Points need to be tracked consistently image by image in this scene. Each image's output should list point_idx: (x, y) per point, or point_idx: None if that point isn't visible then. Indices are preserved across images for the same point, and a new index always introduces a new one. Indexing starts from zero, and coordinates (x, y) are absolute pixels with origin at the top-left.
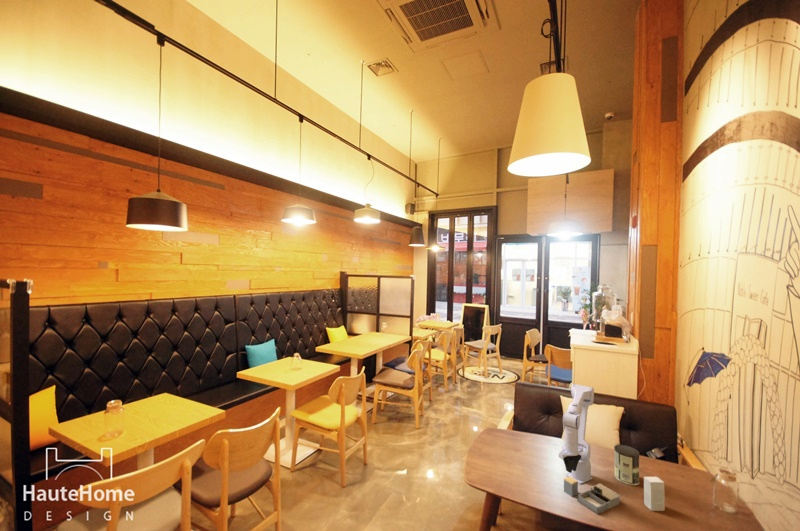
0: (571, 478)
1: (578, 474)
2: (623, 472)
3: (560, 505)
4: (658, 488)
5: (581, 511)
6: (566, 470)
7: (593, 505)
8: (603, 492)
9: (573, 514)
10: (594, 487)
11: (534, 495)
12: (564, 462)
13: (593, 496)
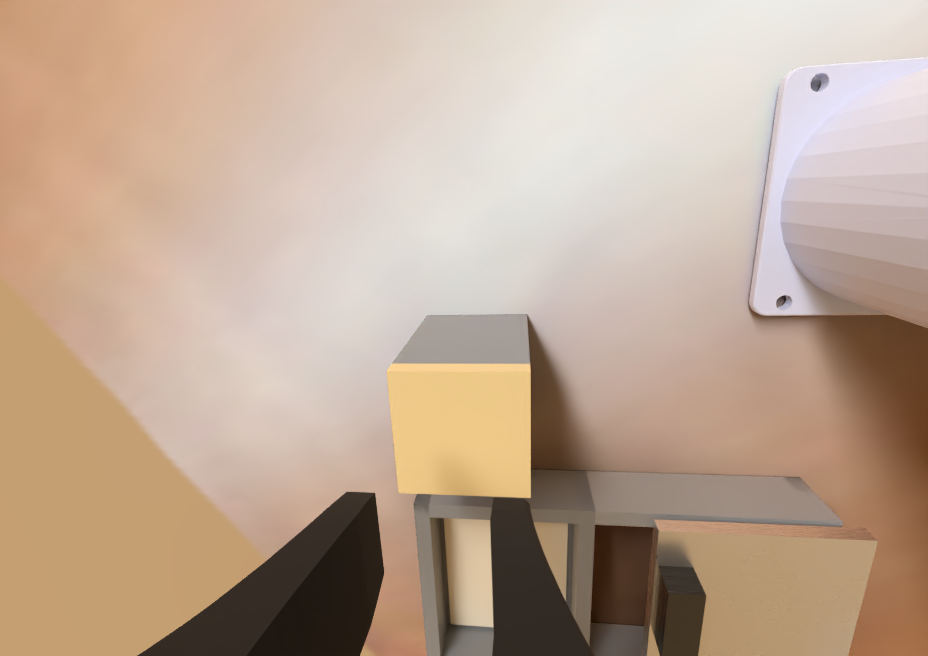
0: (497, 421)
1: (847, 279)
2: None
3: (229, 431)
4: None
5: None
6: (338, 501)
7: (426, 640)
8: (703, 636)
9: (254, 537)
10: (665, 597)
11: (78, 227)
12: (180, 638)
13: (576, 565)
